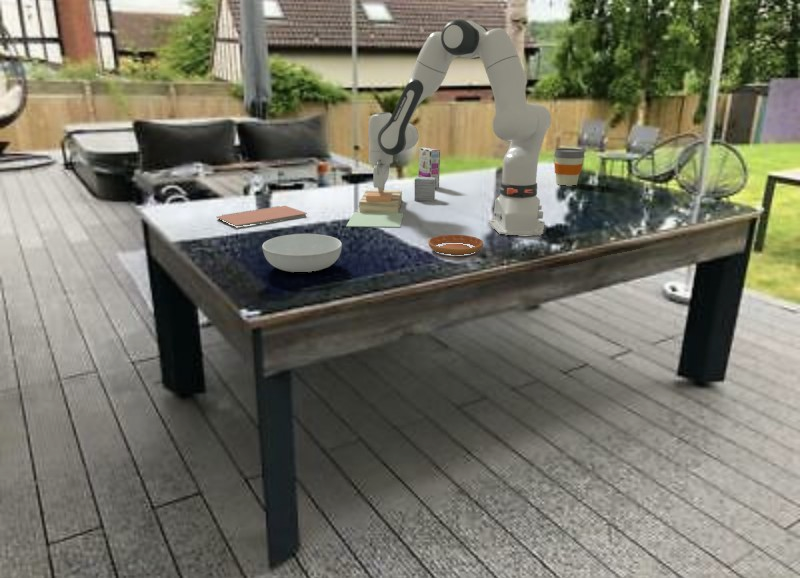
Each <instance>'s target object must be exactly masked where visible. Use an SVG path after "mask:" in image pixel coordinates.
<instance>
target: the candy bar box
mask: <svg viewBox="0 0 800 578" xmlns="http://www.w3.org/2000/svg"><path fill="white" fill-rule="evenodd" d="M440 159H441V149H437V148H432V147H418V177H434V178H435V188H437V189H440V165H441V160H440Z"/></svg>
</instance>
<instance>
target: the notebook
mask: <svg viewBox="0 0 800 578" xmlns="http://www.w3.org/2000/svg"><path fill="white" fill-rule="evenodd" d="M307 214H308V213H307V212H305V211H302V210H299V209H296V208H293V207H289V206H287V205H281V206H280V205H279V206H278V205H276V206H270V207H264V208H260V209H251V210H245V211H239V212H231V213H226V214H222V215H218V216H216V218H217V219H218V218H219V219H221V220H224V221H226V222H228V223H230V224H233V225H235V226H243V225H250V224H260V223H266V222H272V223H275V222H274V221H278V222H281V221H280V220H284V221H288V220H287V219H289V220H294V218H295V219H299V218H306V217H307V216H306V215H307ZM266 224H267V223H266Z"/></svg>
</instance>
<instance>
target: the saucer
mask: <svg viewBox="0 0 800 578" xmlns="http://www.w3.org/2000/svg"><path fill="white" fill-rule="evenodd" d="M442 243H463V244H470V245H473V246H475V247H472V248H470V247H469V246H467V245H463V244H446V245H443V246H440V247H439V246H436V245H438V244H442ZM428 247H429V248H430V249H431V250H433V252H435V251H436V252H439V253H444V254H451V255H464V254H471V253H474V252H476V253H477V252H479V251H480V250H481V249H482V248H483V247H484V241H483V240H482V239H481V238H479V237H475V236H470V235H467V234H465V235H464V234H443V235H437V236H433V237H431V238H430V239H428ZM436 252H435V253H436Z"/></svg>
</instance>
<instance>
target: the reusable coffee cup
mask: <svg viewBox="0 0 800 578" xmlns="http://www.w3.org/2000/svg"><path fill="white" fill-rule="evenodd" d="M584 157H585V151H584V149H581V148H572V147H571V148H569V147H568V148H567V147H565V148H561V147H560V148H556V149H555V150H554V161H555V162H553V163H554V164H553V165H554V174H555V183H556V185H557V184H559V185H558V186H560V185H566V186H565V187H573V186H572V185H576V186H577V185H578V181H579V177H580V175H581V172H582V168H583V159H584Z"/></svg>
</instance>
